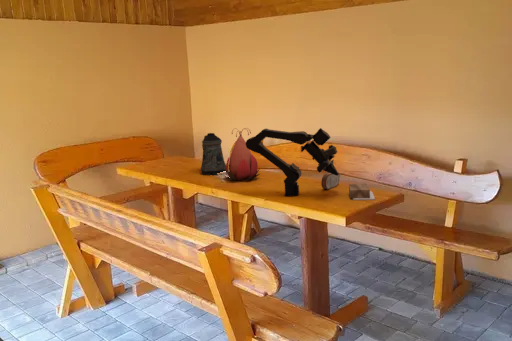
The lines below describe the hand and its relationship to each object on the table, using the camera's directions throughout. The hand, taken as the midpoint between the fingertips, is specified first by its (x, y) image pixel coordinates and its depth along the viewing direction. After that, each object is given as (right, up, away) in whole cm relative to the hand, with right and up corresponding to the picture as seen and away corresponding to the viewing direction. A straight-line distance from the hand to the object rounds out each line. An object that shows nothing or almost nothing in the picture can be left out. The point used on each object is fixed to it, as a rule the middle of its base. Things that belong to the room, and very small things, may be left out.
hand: (338, 174), depth 234 cm
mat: (+12, -10, 0) cm, 16 cm away
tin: (0, -7, +19) cm, 21 cm away
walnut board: (+6, -8, 0) cm, 10 cm away
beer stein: (-68, +1, +71) cm, 98 cm away
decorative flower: (-49, -3, +49) cm, 69 cm away
